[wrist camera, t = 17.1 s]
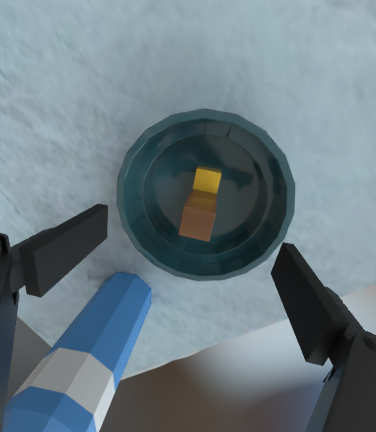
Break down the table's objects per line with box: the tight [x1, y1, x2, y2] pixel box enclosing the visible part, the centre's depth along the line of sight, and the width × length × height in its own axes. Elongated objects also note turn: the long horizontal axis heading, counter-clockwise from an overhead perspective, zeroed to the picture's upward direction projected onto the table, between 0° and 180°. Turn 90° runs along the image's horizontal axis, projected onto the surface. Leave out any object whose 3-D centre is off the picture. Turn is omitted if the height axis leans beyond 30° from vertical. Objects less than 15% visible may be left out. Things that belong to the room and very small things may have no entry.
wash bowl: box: [117, 109, 295, 281], centre depth 26 cm, size 20×20×6 cm
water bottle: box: [2, 272, 151, 432], centre depth 25 cm, size 9×9×25 cm
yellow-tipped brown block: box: [179, 165, 221, 241], centre depth 23 cm, size 8×3×10 cm, turn 170°
